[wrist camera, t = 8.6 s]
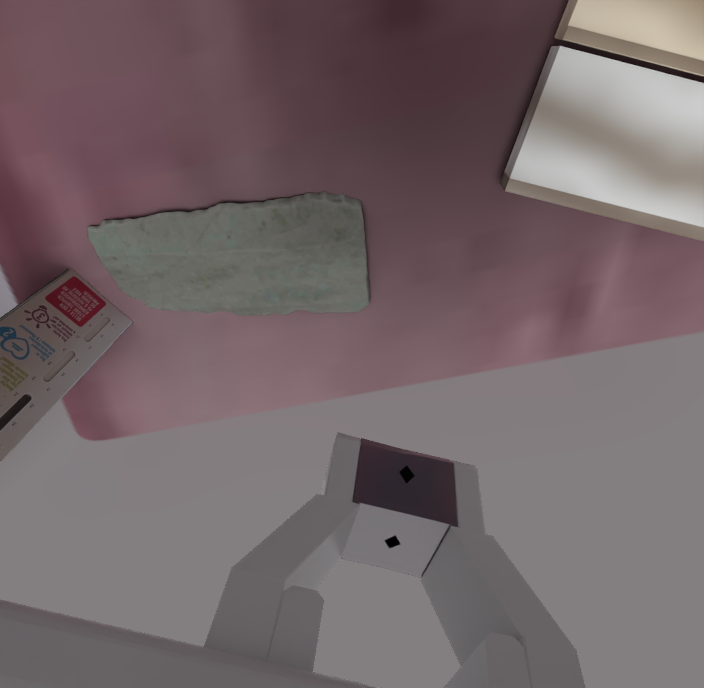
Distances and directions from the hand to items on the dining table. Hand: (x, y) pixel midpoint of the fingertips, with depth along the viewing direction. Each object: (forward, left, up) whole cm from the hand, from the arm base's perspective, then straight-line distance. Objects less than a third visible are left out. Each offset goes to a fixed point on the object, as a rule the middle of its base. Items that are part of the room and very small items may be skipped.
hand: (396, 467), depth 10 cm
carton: (+20, -25, -27) cm, 42 cm away
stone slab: (+11, -12, -28) cm, 32 cm away
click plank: (-4, +17, -27) cm, 32 cm away
